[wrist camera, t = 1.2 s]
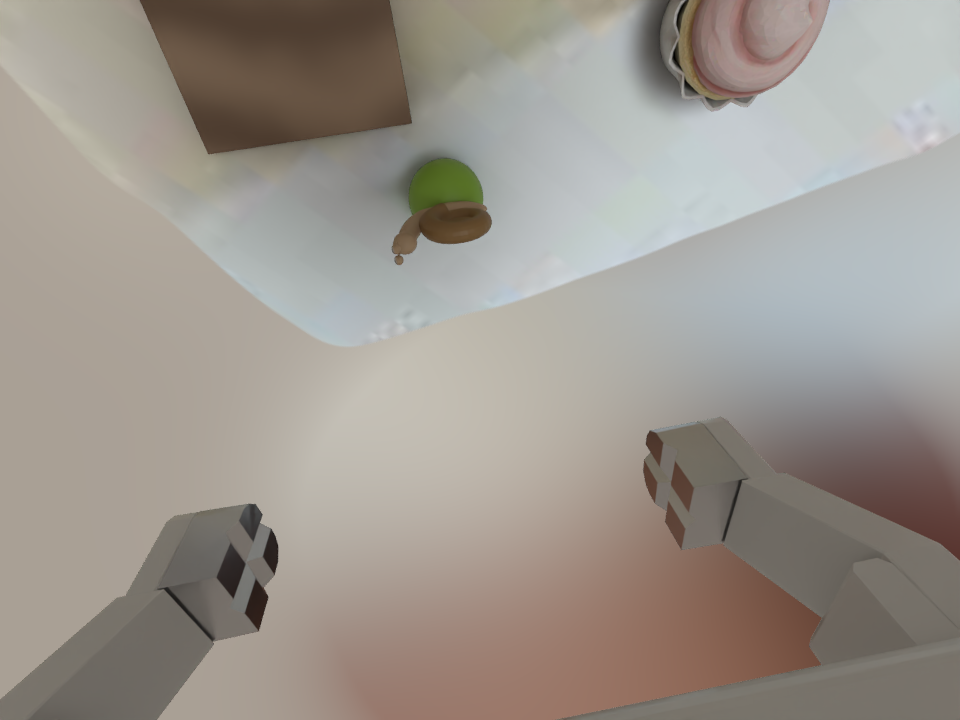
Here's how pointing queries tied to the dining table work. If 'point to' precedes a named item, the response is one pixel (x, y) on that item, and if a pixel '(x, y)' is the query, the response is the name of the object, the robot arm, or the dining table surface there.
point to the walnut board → (282, 67)
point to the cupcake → (737, 45)
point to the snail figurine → (443, 207)
